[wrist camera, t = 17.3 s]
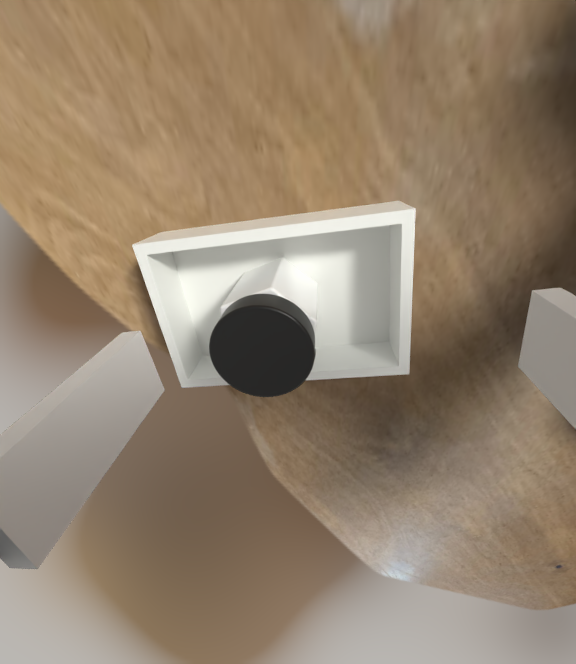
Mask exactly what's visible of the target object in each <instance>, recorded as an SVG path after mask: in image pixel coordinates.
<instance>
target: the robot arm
mask: <svg viewBox="0 0 576 664" xmlns="http://www.w3.org/2000/svg"><path fill="white" fill-rule="evenodd" d="M518 367H519V368H520V369H521V370H522V371H523V372H524V373H525V375H526V376H527V377H528V378H529V379H530V380H531V381H532V382H533V383H534V384H535V385H536V387H537V388H538V389H539V390H540V391H541V392H542V393H543V394H544V395H545V396H546V398H547V399H548V400H549V401H550V402H551V403H552V404H553V405H554V406H555V407H556V408H557V410H558V411H559V412H560V413H561V414H562V415H563V416H564V417H565V418H566V419H567V421H568V422H569V423H570V424H571V425H572V426H573V427H574V428H575V429H576V296H575V295H573V294H571V293H570V292H568V291H566V290H564V289H562V288H561V287H560V288H551V289H541V290H532V293H531V299H530V304H529V310H528V315H527V320H526V326H525V331H524V337H523V342H522V348H521V353H520V358H519V364H518ZM164 391H165V389H164V387H163V385H162V382H161V380H160V377H159V375H158V372H157V370H156V367H155V365H154V363H153V360H152V358H151V355H150V353H149V350H148V348H147V346H146V343H145V341H144V338H143V336H142V333H141V331H133V332H124V333H121V334H120V335H119V336H117V337H116V338H115V339H114V340H113V341H111V342H110V343H109V344H108V345H107V346H106V347H104V348H103V349H102V350H101V351H100V352H98V353H97V354H96V355H95V356H94V357H92V358H91V359H90V360H89V361H88V362H86V363H85V364H84V365H83V366H82V367H80V368H79V369H78V370H77V371H76V372H75V373H73V374H72V375H71V376H70V377H68V378H67V379H66V380H65V381H64V382H62V383H61V384H60V385H59V386H58V387H57V388H55V389H54V390H53V391H52V392H51V393H49V394H48V395H47V396H46V397H45V398H44V399H42V400H41V401H40V402H39V403H37V404H36V405H35V406H34V407H33V408H31V409H30V410H29V411H28V412H27V413H25V414H24V415H23V416H22V417H21V418H20V419H18V420H17V421H16V422H15V423H14V424H12V425H11V426H10V427H9V428H8V429H6V430H5V431H4V432H3V433H2V434H0V558H1V559H2V560H3V561H4V562H5V563H6V564H7V565H8V567H9V568H22V569H38V568H39V566H40V565H41V564H42V562H43V561H44V559H45V558H46V556H47V555H48V554H49V552H50V551H51V549H52V548H53V547H54V545H55V544H56V543H57V541H58V539H59V538H60V537H61V536H62V534H63V533H64V531H65V530H66V529H67V527H68V526H69V524H70V523H71V521H72V520H73V519H74V517H75V516H76V514H77V513H78V512H79V510H80V509H81V507H82V506H83V504H84V503H85V502H86V500H87V499H88V498H89V496H90V495H91V493H92V492H93V490H94V489H95V488H96V486H97V485H98V483H99V482H100V481H101V479H102V478H103V476H104V475H105V474H106V472H107V471H108V469H109V468H110V466H111V465H112V464H113V462H114V461H115V460H116V458H117V457H118V455H119V454H120V452H121V451H122V450H123V448H124V447H125V445H126V444H127V442H128V441H129V440H130V438H131V437H132V435H133V434H134V433H135V431H136V430H137V429H138V427H139V426H140V424H141V423H142V421H143V420H144V419H145V417H146V416H147V415H148V413H149V412H150V410H151V409H152V407H153V406H154V405H155V403H156V402H157V400H158V399H159V398H160V396H161V395H162V393H163V392H164Z"/></svg>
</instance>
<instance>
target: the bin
mask: <svg viewBox="0 0 576 664" xmlns="http://www.w3.org/2000/svg"><path fill="white" fill-rule="evenodd" d="M415 210H416V209H415V208H413V207H411V206H409V205H407V204H405V203H403V202H401V201H393V202H386V203H378V204H371V205H363V206H355V207H348V208H340V209H333V210H325V211H317V212H310V213H302V214H295V215H287V216H280V217H272V218H264V219H257V220H249V221H242V222H234V223H226V224H219V225H211V226H204V227H196V228H189V229H181V230H173V231H166V232H160V233H158V234H156V235H154V236H151V237H149V238H147V239H144V240H142V241H140V242H137V243H135V244H133V245H132V246H133V249H134V252H135V255H136V258H137V261H138V263H139V266H140V269H141V272H142V275H143V278H144V281H145V284H146V286H147V289H148V292H149V295H150V298H151V301H152V304H153V307H154V310H155V312H156V315H157V318H158V321H159V324H160V327H161V330H162V333H163V335H164V338H165V341H166V344H167V347H168V350H169V353H170V356H171V359H172V361H173V364H174V367H175V370H176V373H177V376H178V379H179V381H180V385H181V387H182V388H188V387H205V386H219V385H220V386H221V385H229V384H228V383H227V382H226V381H224V379H223V378H222V377H221V376H220V375H219V374H218V372H217V371H216V369H215V367H214V366H213V363H212V361H211V358H210V353H209V342H210V337H211V333H212V331H213V329H214V327H215V325H216V324H217V322H218V321H219V319H220V308H221V306H222V304H223V303H224V301H225V300H226V299H227V297H228V296H229V294H230V293H231V291H232V290H233V288H234V287H235V285H236V284H237V282H238V281H239V280H240V278H241V277H242V275H243V274H244V273H245V272H247V271H249V270H252V269H254V268H257V267H259V266H262V265H264V264H267V263H269V262H272V261H274V260H277V259H279V258H282V257H284V258H285V259H287V260H288V261H289V262H291V263H292V264H293V265H295V266H296V267H297V268H298V269H300V270H301V271H302V272H304V273H305V274H306V275H307V276H309V277H310V278H311V279H313V280H314V281H315V282H317V284H318V308H317V327H316V332H315V349H316V355H315V360H314V364H313V368H312V370H311V372H310V374H309V376H308V377H307V379H306V380H320V379H337V378H354V377H370V376H387V375H403V374H409V368H410V342H411V315H412V289H413V263H414V236H415Z"/></svg>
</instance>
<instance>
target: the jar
mask: <svg viewBox="0 0 576 664" xmlns="http://www.w3.org/2000/svg"><path fill="white" fill-rule="evenodd" d="M317 308H318V284H317V282H315V281H314V280H313V279H311V278H310V277H309V276H307V275H306V274H305V273H304V272H302V271H301V270H300V269H298V268H297V267H296V266H295V265H293V264H292V263H291V262H289V261H288V260H287V259H285V258H284V257H282V258H279V259H277V260H274V261H272V262H269V263H267V264H264V265H262V266H259V267H257V268H254V269H252V270H249V271H247V272H245V273H244V274H243V275H242V277H241V278H240V280H239V281H238V282H237V284H236V285H235V287H234V288H233V290H232V291H231V293H230V294H229V296H228V297H227V299H226V300H225V301H224V303H223V304H222V306H221V308H220V319H219V321H218V322H217V324H216V325H215V327H214V329H213V331H212V333H211V337H210V342H209V353H210V358H211V361H212V363H213V366H214V367H215V369H216V371H217V372H218V374H219V375H220V376H221V377H222V378H223V379H224V381H226V382H227V383H228V384H229V385H231V386H232V387H234V388H235V389H237V390H239V391H241V392H243V393H246V394H249V395H253V396H259V397H274V396H279V395H283V394H286V393H288V392H291V391H292V390H294V389H296V388H297V387H299V386H300V385H301V384H302V383H303V382H304V381H305V380H306V379H307V377H308V376H309V374H310V372H311V370H312V368H313V364H314V360H315V355H316V349H315V332H316V327H317Z"/></svg>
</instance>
